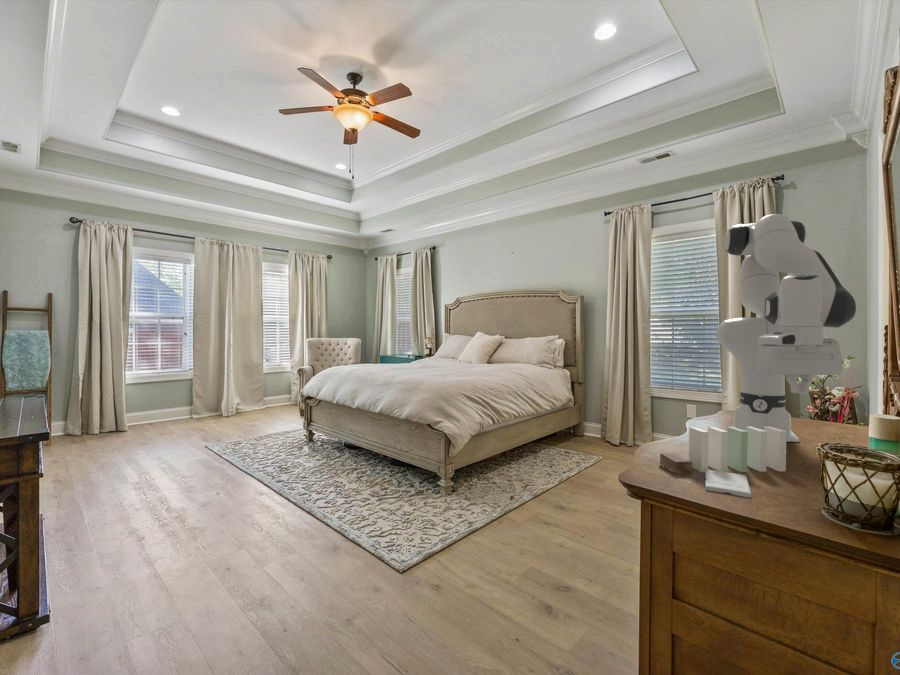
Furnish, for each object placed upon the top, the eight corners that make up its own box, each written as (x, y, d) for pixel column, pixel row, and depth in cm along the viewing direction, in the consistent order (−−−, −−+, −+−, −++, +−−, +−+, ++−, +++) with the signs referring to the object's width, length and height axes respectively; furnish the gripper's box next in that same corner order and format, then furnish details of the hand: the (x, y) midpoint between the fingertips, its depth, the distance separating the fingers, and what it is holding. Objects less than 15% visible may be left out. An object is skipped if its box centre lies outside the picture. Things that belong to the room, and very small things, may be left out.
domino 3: (750, 464, 109) (751, 426, 109) (766, 471, 104) (767, 431, 104) (744, 465, 109) (745, 426, 109) (760, 471, 104) (760, 431, 104)
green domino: (732, 465, 109) (733, 426, 108) (747, 471, 104) (747, 431, 103) (726, 465, 109) (727, 426, 108) (740, 471, 104) (741, 431, 103)
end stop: (675, 464, 109) (675, 453, 109) (692, 473, 102) (692, 461, 102) (660, 464, 109) (660, 453, 109) (676, 474, 102) (676, 461, 102)
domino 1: (694, 465, 108) (695, 427, 108) (707, 472, 103) (708, 431, 103) (688, 465, 108) (689, 427, 108) (701, 472, 103) (702, 431, 103)
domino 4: (769, 464, 109) (770, 426, 109) (785, 471, 104) (786, 431, 104) (763, 464, 109) (764, 426, 109) (779, 471, 104) (780, 431, 104)
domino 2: (713, 465, 108) (714, 426, 108) (727, 472, 103) (728, 431, 103) (707, 465, 108) (708, 426, 108) (720, 472, 103) (721, 431, 103)
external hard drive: (746, 482, 98) (751, 500, 88) (705, 475, 103) (705, 492, 92) (746, 475, 98) (751, 492, 88) (705, 469, 103) (705, 484, 92)
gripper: (827, 338, 110) (826, 391, 110) (752, 337, 109) (751, 390, 109) (851, 338, 104) (850, 394, 104) (771, 337, 103) (770, 394, 103)
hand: (798, 392), depth 106 cm, fingers closed
